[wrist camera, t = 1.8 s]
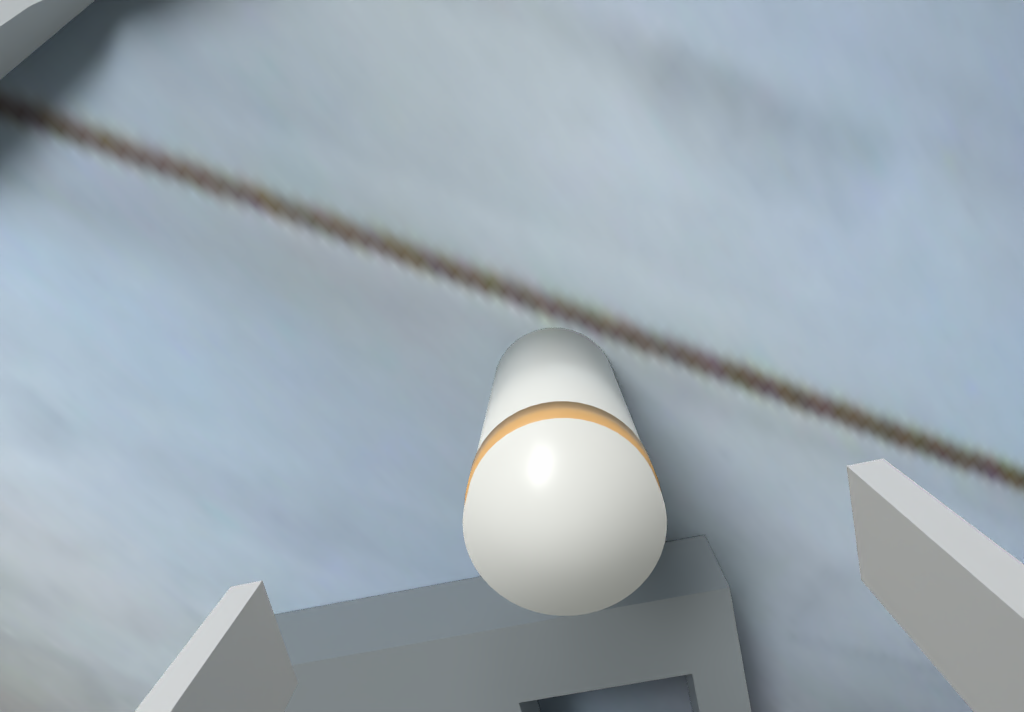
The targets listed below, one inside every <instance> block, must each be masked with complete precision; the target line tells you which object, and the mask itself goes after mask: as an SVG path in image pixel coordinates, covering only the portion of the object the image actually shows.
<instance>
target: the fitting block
mask: <svg viewBox="0 0 1024 712" xmlns="http://www.w3.org/2000/svg"><path fill="white" fill-rule="evenodd" d="M274 616H275V619H276V621H277V624H278V627H279V630H280V633H281V636H282V639H283V642H284V644H285V647H286V650H287V653H288V656H289V659H290V662H291V665H292V667H293V670H294V673H295V676H296V679H297V682H298V684H297V686H296V688H295V690H294V692H293V694H292V696H291V698H290V700H289V702H288V704H287V706H286V708H285V711H284V712H540V708H539V704H538V700H539V699H545V698H551V697H557V696H563V695H569V694H575V693H580V692H586V691H592V690H598V689H604V688H610V687H616V686H622V685H628V684H634V683H640V682H646V681H652V680H658V679H664V678H670V677H676V676H682V675H685V676H686V681H687V686H688V691H689V696H690V701H691V706H692V711H693V712H751V707H750V701H749V695H748V690H747V684H746V678H745V672H744V667H743V661H742V655H741V649H740V644H739V638H738V632H737V627H736V621H735V615H734V609H733V604H732V598H731V592H730V587H729V585H728V583H727V581H726V579H725V577H724V574H723V572H722V570H721V568H720V566H719V564H718V562H717V560H716V558H715V555H714V553H713V551H712V549H711V547H710V545H709V543H708V541H707V539H706V536H705V535H702V536H697V537H691V538H686V539H680V540H675V541H670V542H665V544H664V547H663V550H662V553H661V556H660V558H659V560H658V562H657V564H656V566H655V568H654V569H653V571H652V572H651V574H650V575H649V577H648V578H647V579H646V580H645V581H644V582H643V583H642V585H641V586H640V587H638V588H637V589H636V590H635V591H634V592H633V593H632V594H630V595H629V596H627V597H626V598H624V599H623V600H621V601H620V602H618V603H616V604H614V605H612V606H610V607H607V608H605V609H602V610H599V611H596V612H592V613H588V614H582V615H574V616H556V615H547V614H542V613H538V612H534V611H531V610H528V609H525V608H523V607H520V606H518V605H516V604H514V603H512V602H510V601H509V600H507V599H506V598H504V597H503V596H501V595H500V594H498V593H497V592H496V591H495V590H494V589H493V588H491V587H490V586H489V585H488V583H487V582H486V581H485V580H484V579H483V578H482V577H475V578H470V579H464V580H459V581H454V582H448V583H443V584H437V585H432V586H427V587H421V588H416V589H410V590H405V591H400V592H394V593H389V594H383V595H378V596H373V597H367V598H362V599H356V600H351V601H346V602H340V603H335V604H330V605H324V606H319V607H313V608H308V609H303V610H297V611H292V612H286V613H281V614H276V615H274Z"/></svg>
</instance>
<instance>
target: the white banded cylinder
mask: <svg viewBox="0 0 1024 712" xmlns="http://www.w3.org/2000/svg"><path fill="white" fill-rule="evenodd" d="M666 532H667V516H666V507H665V504H664V500H663V496H662V493H661V489H660V485H659V481H658V478H657V476H656V473H655V471H654V468H653V466H652V463H651V461H650V458H649V456H648V454H647V451H646V449H645V448H644V446H643V444H642V443H641V441H640V438H639V436H638V433H637V431H636V428H635V426H634V423H633V420H632V418H631V415H630V413H629V410H628V408H627V405H626V403H625V400H624V398H623V395H622V393H621V390H620V388H619V385H618V383H617V380H616V378H615V375H614V373H613V370H612V368H611V365H610V363H609V361H608V359H607V357H606V355H605V354H604V352H603V351H602V350H601V349H600V347H599V346H598V345H597V344H595V343H594V342H593V341H592V340H591V339H589V338H588V337H586V336H584V335H582V334H581V333H578V332H575V331H573V330H569V329H564V328H545V329H540V330H536V331H533V332H531V333H528V334H526V335H524V336H523V337H521V338H519V339H518V340H517V341H515V342H514V343H513V344H512V345H511V346H510V347H509V348H508V349H507V350H506V352H505V353H504V354H503V356H502V358H501V360H500V361H499V364H498V366H497V369H496V373H495V377H494V382H493V386H492V390H491V394H490V399H489V403H488V407H487V412H486V416H485V420H484V425H483V429H482V433H481V437H480V442H479V446H478V450H477V453H476V456H475V459H474V461H473V464H472V468H471V472H470V477H469V481H468V485H467V489H466V494H465V506H464V513H463V534H464V539H465V544H466V548H467V551H468V553H469V556H470V558H471V560H472V562H473V564H474V566H475V568H476V569H477V571H478V572H479V574H480V575H481V577H482V578H483V579H484V580H485V581H486V582H487V583H488V585H489V586H490V587H491V588H493V589H494V590H495V591H496V592H497V593H498V594H500V595H501V596H503V597H504V598H506V599H507V600H509V601H510V602H512V603H514V604H516V605H518V606H520V607H523V608H525V609H528V610H531V611H534V612H538V613H542V614H547V615H556V616H574V615H582V614H588V613H592V612H596V611H599V610H602V609H605V608H607V607H610V606H612V605H614V604H616V603H618V602H620V601H621V600H623V599H624V598H626V597H627V596H629V595H630V594H632V593H633V592H634V591H635V590H636V589H637V588H638V587H640V586H641V585H642V583H643V582H644V581H645V580H646V579H647V578H648V577H649V575H650V574H651V572H652V571H653V569H654V568H655V566H656V564H657V562H658V560H659V558H660V556H661V553H662V550H663V547H664V544H665V538H666Z"/></svg>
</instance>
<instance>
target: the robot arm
mask: <svg viewBox="0 0 1024 712" xmlns="http://www.w3.org/2000/svg"><path fill="white" fill-rule="evenodd" d="M847 473H848V481H849V488H850V496H851V504H852V512H853V520H854V527H855V535H856V543H857V551H858V559H859V566H860V574H861V580H862V581H863V582H864V584H865V585H866V586H867V587H868V588H869V590H870V591H871V592H872V593H873V594H874V595H875V597H876V598H877V599H878V600H879V601H880V602H881V604H882V605H883V606H884V607H885V608H886V609H887V611H888V612H889V613H890V614H891V615H892V617H893V618H894V619H895V620H896V621H897V622H898V624H899V625H900V626H901V627H902V628H903V629H904V631H905V632H906V633H907V634H908V635H909V636H910V638H911V639H912V640H913V641H914V642H915V644H916V645H917V646H918V647H919V648H920V649H921V651H922V652H923V653H924V654H925V655H926V656H927V658H928V659H929V660H930V661H931V662H932V663H933V665H934V666H935V667H936V668H937V669H938V671H939V672H940V673H941V674H942V675H943V676H944V678H945V679H946V680H947V681H948V682H949V683H950V685H951V686H952V687H953V688H954V689H955V690H956V692H957V693H958V694H959V695H960V696H961V697H962V699H963V700H964V701H965V702H966V703H967V705H968V706H969V707H970V708H971V709H972V710H973V712H1024V564H1023V563H1021V562H1020V561H1019V560H1017V559H1016V558H1015V557H1013V556H1012V555H1011V554H1009V553H1008V552H1007V551H1005V550H1004V549H1003V548H1001V547H1000V546H999V545H997V544H996V543H995V542H993V541H992V540H991V539H989V538H988V537H987V536H985V535H984V534H983V533H981V532H980V531H979V530H977V529H976V528H975V527H974V526H972V525H971V524H970V523H968V522H967V521H966V520H964V519H963V518H962V517H960V516H959V515H958V514H956V513H955V512H954V511H952V510H951V509H950V508H948V507H947V506H946V505H944V504H943V503H942V502H940V501H939V500H938V499H936V498H935V497H934V496H932V495H931V494H930V493H928V492H927V491H926V490H924V489H923V488H922V487H920V486H919V485H918V484H916V483H915V482H914V481H912V480H911V479H910V478H908V477H907V476H906V475H905V474H903V473H902V472H901V471H899V470H898V469H897V468H895V467H894V466H893V465H891V464H890V463H889V462H887V461H886V460H885V459H879V460H873V461H868V462H863V463H858V464H853V465H848V466H847ZM297 684H298V682H297V679H296V676H295V673H294V670H293V667H292V665H291V662H290V659H289V656H288V653H287V650H286V647H285V644H284V642H283V639H282V636H281V633H280V630H279V627H278V624H277V621H276V619H275V616H274V613H273V610H272V607H271V604H270V601H269V598H268V596H267V593H266V590H265V587H264V584H263V581H257V582H252V583H247V584H242V585H237V586H232V587H230V588H229V590H228V591H227V592H226V593H225V595H224V596H223V597H222V599H221V600H220V601H219V603H218V604H217V605H216V606H215V608H214V609H213V610H212V612H211V613H210V614H209V616H208V617H207V618H206V619H205V621H204V622H203V623H202V625H201V626H200V627H199V629H198V630H197V631H196V632H195V634H194V635H193V636H192V638H191V639H190V640H189V641H188V643H187V644H186V645H185V647H184V648H183V649H182V651H181V652H180V653H179V654H178V656H177V657H176V658H175V660H174V661H173V662H172V664H171V665H170V666H169V667H168V669H167V670H166V671H165V673H164V674H163V675H162V677H161V678H160V679H159V680H158V682H157V683H156V684H155V686H154V687H153V688H152V690H151V691H150V692H149V693H148V695H147V696H146V697H145V699H144V700H143V701H142V703H141V704H140V705H139V706H138V708H137V709H136V710H135V712H284V711H285V708H286V706H287V704H288V702H289V700H290V698H291V696H292V694H293V692H294V690H295V688H296V686H297Z"/></svg>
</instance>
